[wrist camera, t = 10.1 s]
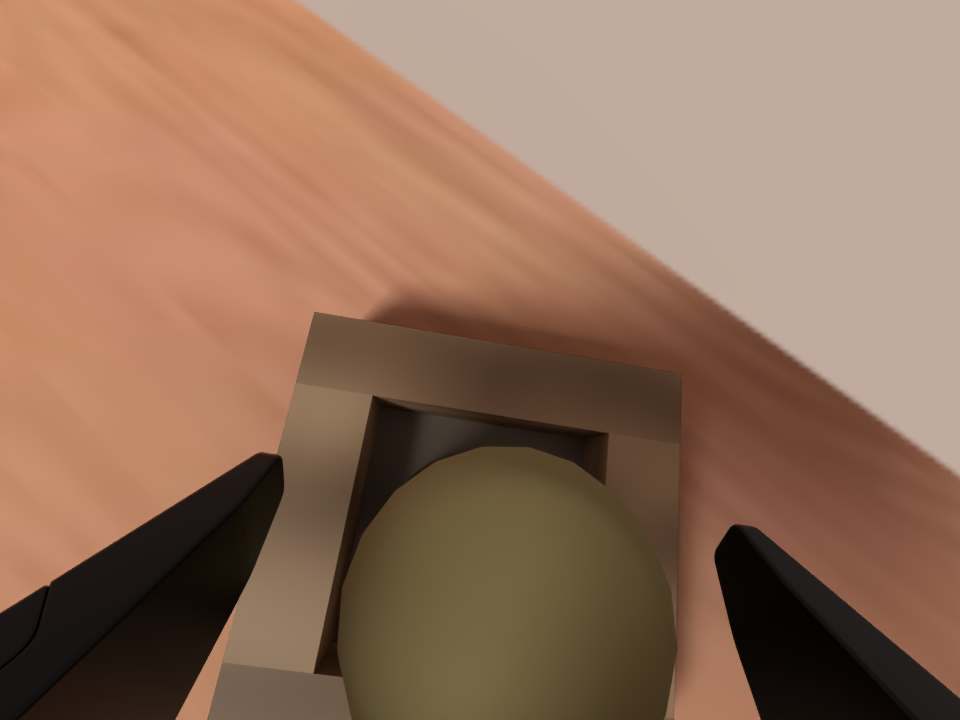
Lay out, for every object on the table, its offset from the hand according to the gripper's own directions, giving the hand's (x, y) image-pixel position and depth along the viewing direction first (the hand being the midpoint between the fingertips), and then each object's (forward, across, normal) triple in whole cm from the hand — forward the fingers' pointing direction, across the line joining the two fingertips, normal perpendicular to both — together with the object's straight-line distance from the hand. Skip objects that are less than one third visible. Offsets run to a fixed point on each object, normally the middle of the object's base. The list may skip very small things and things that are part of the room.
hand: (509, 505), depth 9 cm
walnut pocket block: (+5, 0, +7) cm, 9 cm away
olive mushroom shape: (+5, 0, +7) cm, 8 cm away
